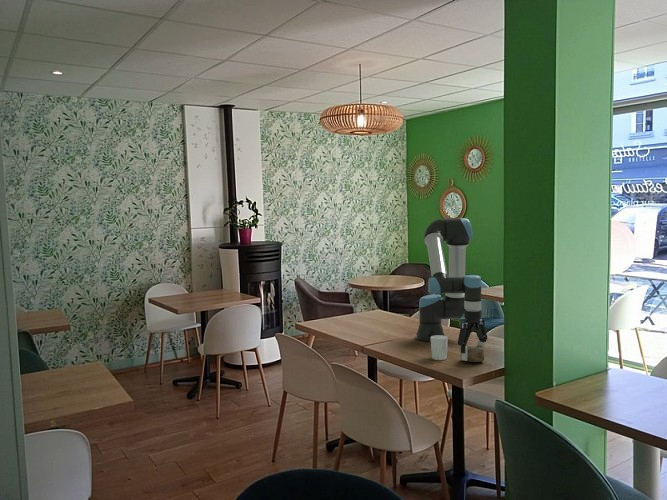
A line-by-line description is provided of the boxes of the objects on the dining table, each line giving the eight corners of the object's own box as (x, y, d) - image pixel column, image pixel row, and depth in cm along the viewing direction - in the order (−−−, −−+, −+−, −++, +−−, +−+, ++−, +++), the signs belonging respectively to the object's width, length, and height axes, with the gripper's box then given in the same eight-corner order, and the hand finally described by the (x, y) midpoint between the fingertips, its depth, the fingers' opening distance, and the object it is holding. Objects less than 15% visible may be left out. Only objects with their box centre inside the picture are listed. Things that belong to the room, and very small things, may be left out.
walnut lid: (471, 353, 259) (471, 343, 258) (489, 358, 250) (489, 348, 250) (455, 358, 252) (455, 347, 252) (473, 363, 244) (473, 352, 244)
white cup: (450, 357, 260) (450, 336, 259) (444, 361, 253) (444, 339, 252) (434, 355, 264) (434, 334, 263) (428, 359, 257) (428, 338, 256)
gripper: (482, 305, 259) (482, 351, 261) (448, 311, 246) (449, 360, 247) (495, 307, 253) (495, 355, 255) (461, 314, 239) (462, 364, 241)
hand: (472, 357), depth 251 cm, fingers closed on walnut lid, 10 cm apart
